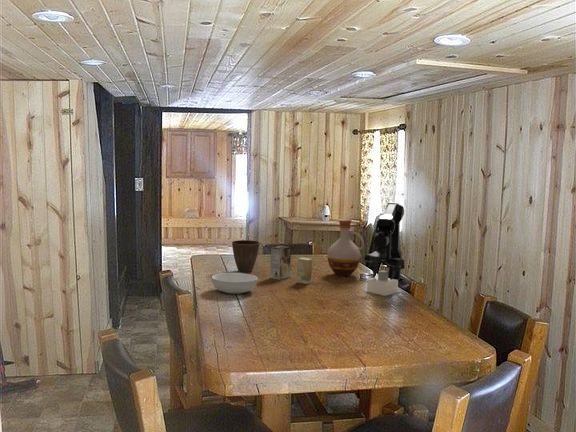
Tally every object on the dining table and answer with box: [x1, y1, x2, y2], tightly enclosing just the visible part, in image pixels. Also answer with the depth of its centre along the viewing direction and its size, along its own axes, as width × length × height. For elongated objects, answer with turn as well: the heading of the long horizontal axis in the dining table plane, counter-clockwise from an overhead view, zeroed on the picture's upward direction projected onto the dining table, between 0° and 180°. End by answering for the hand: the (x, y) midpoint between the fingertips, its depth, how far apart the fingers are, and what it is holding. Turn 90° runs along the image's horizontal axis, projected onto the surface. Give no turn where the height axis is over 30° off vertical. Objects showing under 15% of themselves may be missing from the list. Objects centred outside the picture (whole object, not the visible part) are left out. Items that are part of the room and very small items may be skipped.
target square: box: [364, 290, 401, 298], centre depth 254 cm, size 12×12×1 cm
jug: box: [326, 219, 365, 278], centre depth 289 cm, size 20×18×30 cm
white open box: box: [366, 269, 399, 297], centre depth 253 cm, size 10×10×10 cm
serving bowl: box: [211, 272, 259, 295], centre depth 246 cm, size 21×21×7 cm
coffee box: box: [269, 245, 292, 281], centre depth 279 cm, size 9×6×16 cm
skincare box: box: [296, 257, 313, 285], centre depth 269 cm, size 6×4×12 cm
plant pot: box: [231, 239, 260, 274], centre depth 292 cm, size 15×15×16 cm
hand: (382, 277), depth 253 cm, fingers open, 9 cm apart
